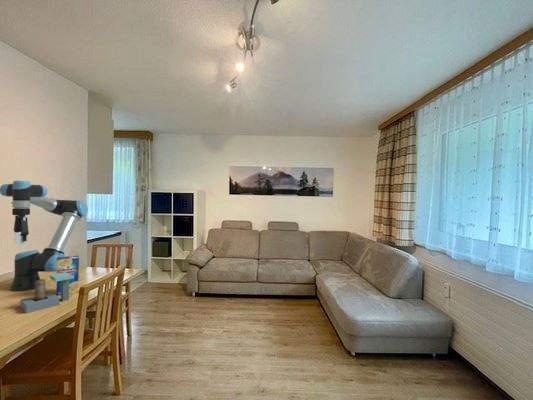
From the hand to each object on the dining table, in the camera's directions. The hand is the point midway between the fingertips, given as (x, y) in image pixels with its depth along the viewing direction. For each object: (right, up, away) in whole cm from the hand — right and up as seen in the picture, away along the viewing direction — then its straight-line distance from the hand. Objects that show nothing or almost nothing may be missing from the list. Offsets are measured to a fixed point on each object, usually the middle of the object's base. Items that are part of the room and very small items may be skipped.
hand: (20, 245), depth 156 cm
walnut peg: (+15, -32, -5) cm, 36 cm away
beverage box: (+16, -32, +15) cm, 39 cm away
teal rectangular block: (+21, -32, +2) cm, 39 cm away
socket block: (+16, -32, -5) cm, 36 cm away
